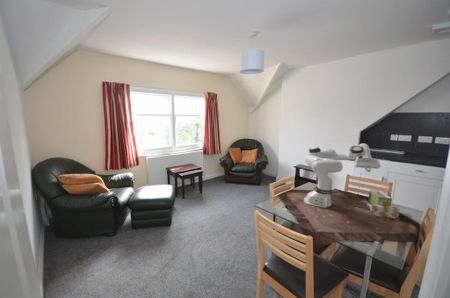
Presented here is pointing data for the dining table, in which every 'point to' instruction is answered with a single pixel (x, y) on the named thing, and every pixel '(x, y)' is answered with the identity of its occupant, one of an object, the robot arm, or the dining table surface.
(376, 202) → the tea box
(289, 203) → the dining table surface
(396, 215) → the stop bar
